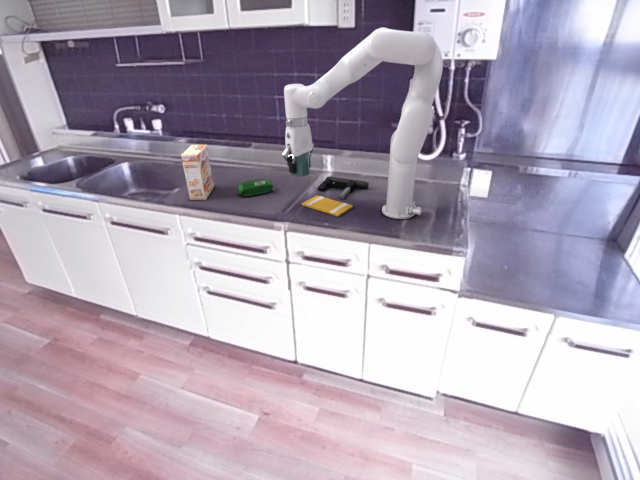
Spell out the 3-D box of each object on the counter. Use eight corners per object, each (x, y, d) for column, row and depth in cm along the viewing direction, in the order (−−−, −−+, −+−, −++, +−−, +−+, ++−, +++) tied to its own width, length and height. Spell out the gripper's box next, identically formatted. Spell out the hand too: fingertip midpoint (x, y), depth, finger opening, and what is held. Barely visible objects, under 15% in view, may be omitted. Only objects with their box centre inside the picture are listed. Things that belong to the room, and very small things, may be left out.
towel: (352, 207, 147) (352, 205, 147) (338, 216, 141) (338, 214, 140) (317, 196, 157) (316, 194, 157) (301, 205, 150) (301, 203, 150)
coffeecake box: (206, 200, 157) (197, 154, 147) (189, 200, 157) (179, 154, 147) (214, 186, 170) (207, 143, 160) (199, 187, 170) (190, 144, 160)
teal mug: (313, 172, 142) (312, 151, 138) (301, 178, 138) (299, 156, 134) (294, 167, 148) (292, 147, 144) (281, 172, 143) (279, 152, 139)
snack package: (276, 192, 162) (275, 181, 160) (240, 198, 157) (238, 187, 155) (271, 187, 168) (270, 176, 165) (236, 192, 163) (235, 181, 160)
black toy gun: (357, 195, 151) (369, 179, 163) (312, 188, 159) (328, 174, 171) (357, 202, 153) (369, 186, 165) (313, 195, 160) (328, 180, 172)
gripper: (287, 128, 125) (291, 178, 133) (320, 118, 136) (322, 165, 145) (271, 125, 129) (276, 174, 138) (305, 116, 140) (307, 162, 149)
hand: (300, 169), depth 141 cm, fingers closed on teal mug, 7 cm apart
